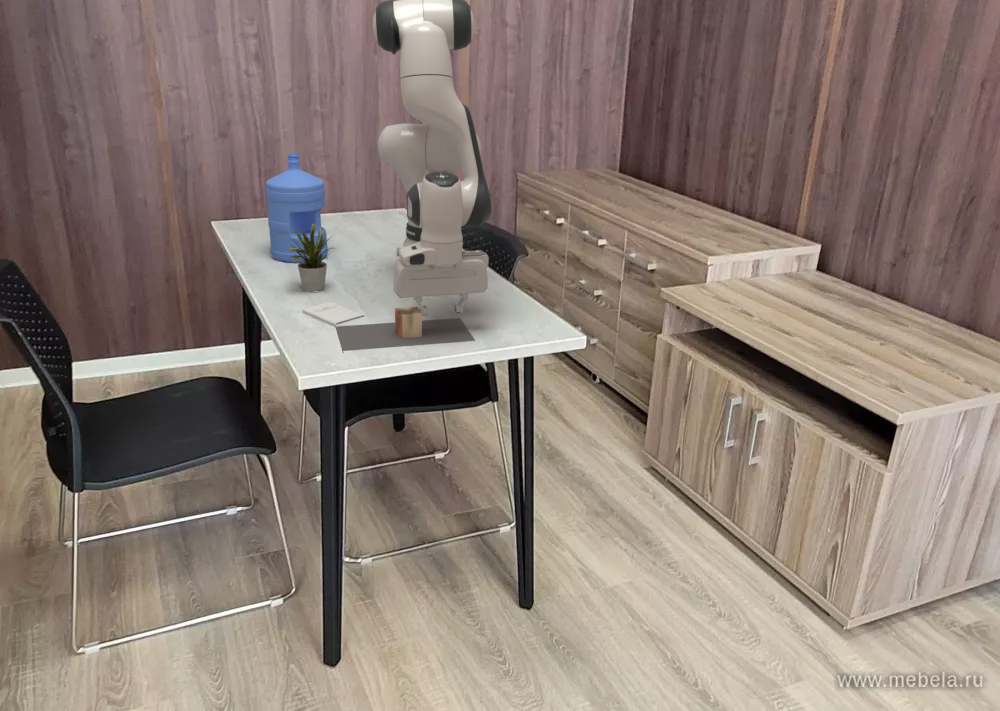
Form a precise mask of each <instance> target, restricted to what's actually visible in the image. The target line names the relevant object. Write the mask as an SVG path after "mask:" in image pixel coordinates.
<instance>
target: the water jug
mask: <svg viewBox="0 0 1000 711" xmlns="http://www.w3.org/2000/svg"><path fill="white" fill-rule="evenodd" d="M300 163H301V161H300V154H299V153H288V154H287V166H288V167H287V170H285V171H283V172H281V173H279V174H277V175H275V176H273V177H271V178H269V179H268V180H267V181H266V182H265V186H266V188H265V196H266V199H267V200H266V202H267V214H268V216H267V217H268V218H267V221H268V222H267V223H268V229H269V240H270V247H269V249H270V255H271V256H272V258H274V259H275V260H277V261H279V262H284V261H285V263H294V262H300V263H302V262H304V261H305V260H304V259H303V258H301V257H300V258H301V259H300V258H299V259H297V260H295V261H294V258H295V257H294V258H291V259H290V257H291V256H293V255H295V254H296V255H297V256H299V254H298V253H297V252H296V251H290V250H287V249H289V248H293V247H292V246H294V247H295V248H298V249H300V248H301V249H304V248H303V247H304V246H303V245H302V243H301V241H300V240H299V239H298V237H297V235H296V234H295V233H294V232H293V231H292V230H294V231H295V232H296V233H298V234H299V235H300V236H301V237H302V239H303V240H304V238H303V235H302V231H303V232H304V233H305V234H306V236H307V237H308V239H309V241H310V232H311V227H312V224H313V223H314V224H315V227H316V226H317V227H316V229H315V234H314V244H315V245H316V242H317V238H318V233H319V230H320V227H321V235H322V233H323V231H324V236H323V240H324V239H326V240H325V242H326V241H327V240H328V239H327V230H326V228H324V227H323V226H322V222H321V221H322V218H321V216H322V215H321V210H322V209H323V208H324V207H325V206H326V200H325V199H326V198H325V196H326V189H325V188H326V187H325V182H324V180H323V179H322V178H319V177H317V176H315V175H313V174H311V173H308V172H306V171H304V170H302V169H301V165H300ZM284 227H285V228H284ZM288 228H289V229H288ZM290 229H292V230H290ZM321 235H320V238H321ZM285 236H288V237H285ZM300 236H299V237H300ZM290 237H291V238H290ZM290 239H291V240H290ZM292 240H293V241H292ZM296 240H297V241H298V242H299V243H298V242H297V241H296ZM323 240H322V241H323ZM294 241H295V242H296V243H297V244H298V245H299V246H300V248H299V246H298V245H297V244H296V243H295V242H294ZM319 241H320V239H319ZM325 242H324V243H325ZM327 242H328V241H327ZM327 242H326V243H325V245H324V244H323V245H324V246H323V248H322V250H321V252H320V253H323V252H324V251H326V250H327V249H329V248H328V247H329V246H328V243H327ZM318 244H319V243H318ZM290 245H292V246H290ZM302 246H303V247H302ZM304 250H305V249H304ZM289 251H290V252H289ZM328 252H329V250H327V251H326V252H324V254H323V255H322V258H326V256H327V255H328ZM299 253H300V252H299ZM300 254H301V253H300ZM303 254H304V253H303ZM303 254H301V255H302V256H304V255H303ZM305 255H306V254H305ZM306 256H307V255H306ZM318 257H319V256H318ZM304 258H305V257H304ZM307 258H309V257H308V256H307ZM303 260H304V261H303ZM317 260H318V259H317Z"/></svg>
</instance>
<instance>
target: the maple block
mask: <svg viewBox="0 0 1000 711" xmlns="http://www.w3.org/2000/svg"><path fill="white" fill-rule="evenodd" d="M422 321H423V316H422V314H421V312H420V310H419V306H412V307H396V308H394V322H395V331H396V333H397V335H398V337H399V338H409V337H422Z"/></svg>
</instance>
